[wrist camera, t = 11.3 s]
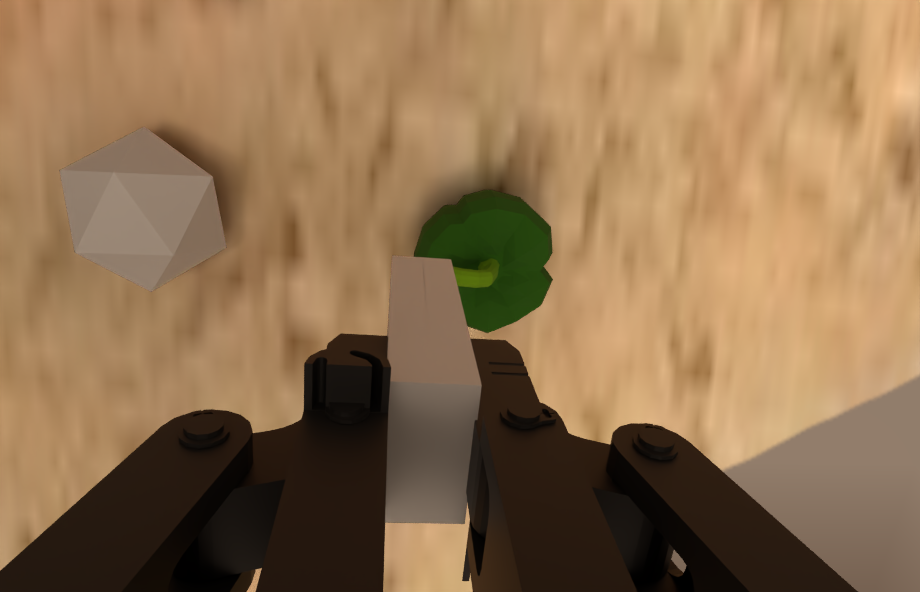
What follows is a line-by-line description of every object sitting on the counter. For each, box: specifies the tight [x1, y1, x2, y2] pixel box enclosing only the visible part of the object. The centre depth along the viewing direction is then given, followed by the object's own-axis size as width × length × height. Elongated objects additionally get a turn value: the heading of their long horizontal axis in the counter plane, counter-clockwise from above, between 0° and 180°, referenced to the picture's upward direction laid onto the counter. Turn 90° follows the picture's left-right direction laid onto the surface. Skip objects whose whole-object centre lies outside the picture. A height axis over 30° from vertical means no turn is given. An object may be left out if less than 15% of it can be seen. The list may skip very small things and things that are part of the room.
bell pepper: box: [414, 190, 553, 333], centre depth 39 cm, size 8×8×10 cm
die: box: [60, 127, 227, 292], centre depth 37 cm, size 8×9×10 cm
